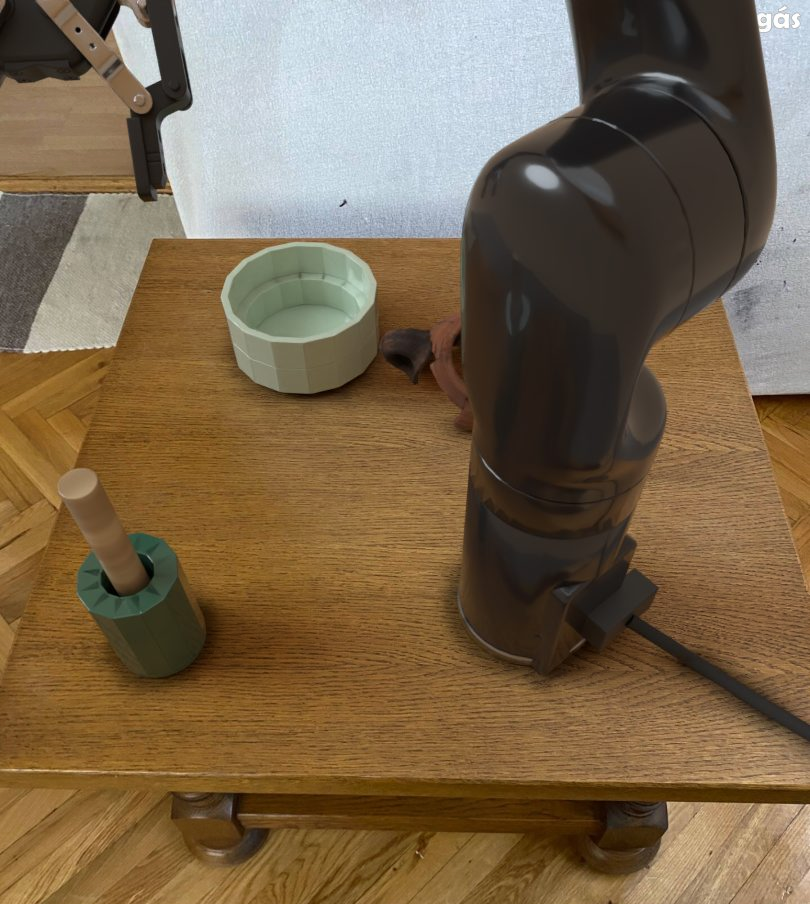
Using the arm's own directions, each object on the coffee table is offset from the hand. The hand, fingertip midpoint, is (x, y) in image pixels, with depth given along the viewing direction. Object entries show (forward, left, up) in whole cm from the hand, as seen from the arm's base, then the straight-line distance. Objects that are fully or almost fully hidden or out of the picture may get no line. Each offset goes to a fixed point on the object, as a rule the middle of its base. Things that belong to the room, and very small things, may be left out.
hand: (65, 204), depth 43 cm
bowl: (+5, -16, -23) cm, 29 cm away
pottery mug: (-7, -22, -23) cm, 33 cm away
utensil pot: (-11, +8, -23) cm, 27 cm away
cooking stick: (-11, +8, -23) cm, 26 cm away
